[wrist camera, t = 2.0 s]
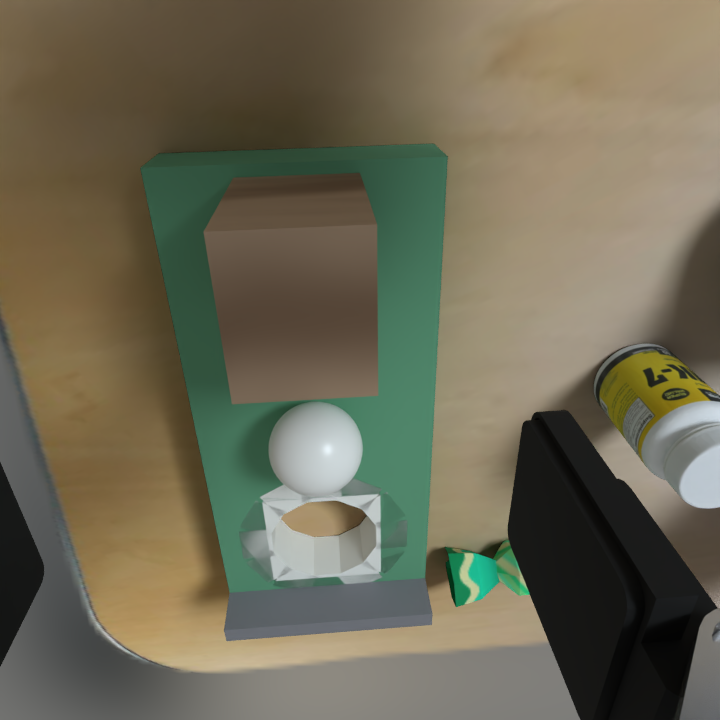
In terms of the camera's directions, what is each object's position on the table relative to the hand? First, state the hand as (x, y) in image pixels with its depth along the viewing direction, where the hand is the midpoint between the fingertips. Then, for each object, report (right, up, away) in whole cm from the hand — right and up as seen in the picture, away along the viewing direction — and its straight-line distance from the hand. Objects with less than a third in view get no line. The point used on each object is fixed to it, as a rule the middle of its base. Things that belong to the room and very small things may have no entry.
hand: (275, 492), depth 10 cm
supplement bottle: (+17, +2, +22) cm, 28 cm away
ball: (0, -2, +16) cm, 16 cm away
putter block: (-1, +7, +14) cm, 15 cm away
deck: (-1, 0, +21) cm, 21 cm away
